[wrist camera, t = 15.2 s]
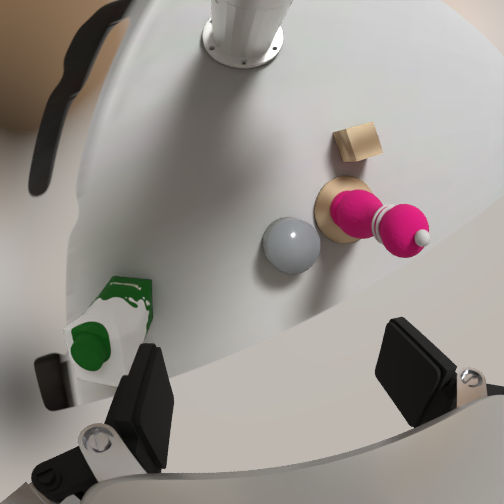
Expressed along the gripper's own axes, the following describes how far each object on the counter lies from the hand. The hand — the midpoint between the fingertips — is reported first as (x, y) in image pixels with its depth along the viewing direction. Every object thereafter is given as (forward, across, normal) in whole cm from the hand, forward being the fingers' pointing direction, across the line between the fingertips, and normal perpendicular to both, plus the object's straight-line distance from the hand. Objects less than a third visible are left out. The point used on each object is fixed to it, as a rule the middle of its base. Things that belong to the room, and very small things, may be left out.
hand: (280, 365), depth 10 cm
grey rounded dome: (+33, -8, +4) cm, 34 cm away
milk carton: (+34, +18, +12) cm, 40 cm away
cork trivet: (+33, -18, -1) cm, 38 cm away
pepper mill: (+33, -18, -1) cm, 37 cm away
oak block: (+33, -19, -12) cm, 40 cm away
